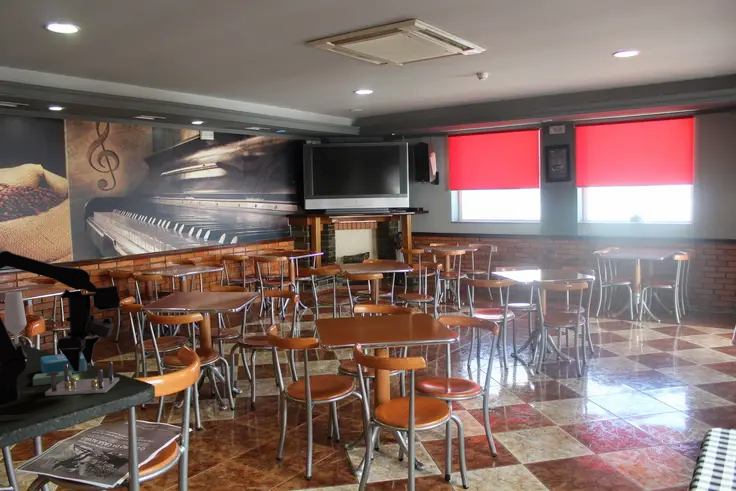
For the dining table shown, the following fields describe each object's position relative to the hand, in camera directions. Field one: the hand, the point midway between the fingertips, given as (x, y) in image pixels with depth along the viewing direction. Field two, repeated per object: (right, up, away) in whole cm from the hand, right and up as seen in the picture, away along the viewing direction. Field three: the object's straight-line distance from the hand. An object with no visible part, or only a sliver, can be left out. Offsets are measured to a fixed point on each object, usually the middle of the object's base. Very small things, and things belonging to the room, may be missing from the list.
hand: (83, 366), depth 174 cm
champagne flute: (-39, -6, +35) cm, 52 cm away
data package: (-19, -3, +25) cm, 32 cm away
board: (-13, -7, +9) cm, 17 cm away
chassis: (0, -6, 0) cm, 6 cm away
